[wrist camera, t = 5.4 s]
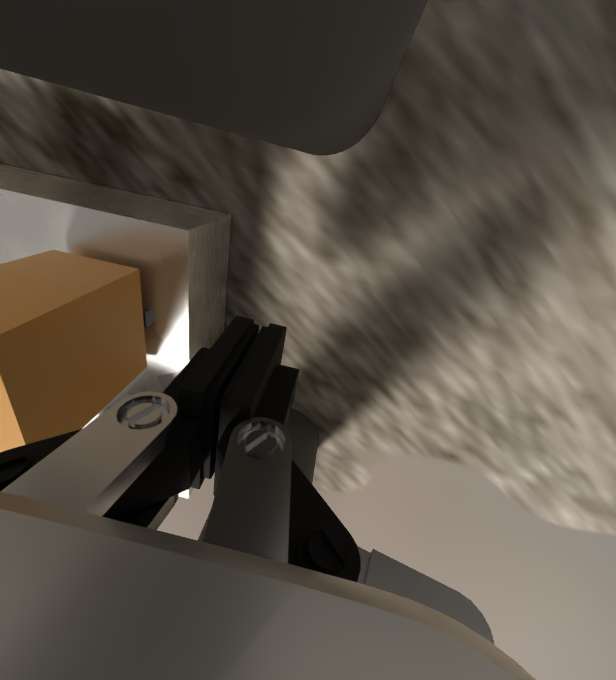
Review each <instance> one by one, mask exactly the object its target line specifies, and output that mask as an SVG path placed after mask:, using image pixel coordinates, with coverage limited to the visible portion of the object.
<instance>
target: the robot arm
mask: <svg viewBox="0 0 616 680" xmlns="http://www.w3.org/2000/svg"><path fill="white" fill-rule="evenodd" d="M286 329H287V328H286V327H284V326H280V325H276V324H271V323H270V324H269V326H268V327H265V326H263V327H262V328H261V330H260V332H259V325H257V324H254V320H253V319H250V318H245V317H241V316H236V317H235V318H234V319H233V321H232V322H231V323H230V324H229V326H228V327H227V328H226V329H225V331H224V332H223V333H222V334H221V336H220V337H219V338H218V339H217V341H216V342H215V343H214V344H213V346H212V347H211V348H205V347H202V348H201V349H199V351H198V352H197V353H196V354H195V355H194V356H193V358H192V359H191V360H190V361H189V362H188V363H187V365H186V366H185V367H184V368H183V369H182V370H181V372H180V373H179V374H178V375H177V376H176V377H175V379H174V380H173V381H172V382H171V383H170V384H169V386H168V387H167V388H166V389H165V390H164V391H163V393H159V392H140V393H135V394H132V395H130V396H127V397H125V398H123V399H122V400H120V401H118V402H117V403H116V404H114V405H113V406H112V407H110V408H109V409H108V410H107V411H105V412H104V413H103V414H101V415H100V416H99V417H97V418H96V419H95V420H93V421H92V422H91V423H90V424H88V425H87V426H86V427H84V428H83V429H79V430H76V431H72V432H69V433H65V434H62V435H58V436H55V437H51V438H48V439H44V440H41V441H37V442H34V443H30V444H26V445H23V446H19V447H16V448H12V449H9V450H6V451H3V452H0V680H536V679H534V677H532V676H531V675H530V674H529V673H528V672H527V671H526V670H525V669H523V668H522V667H521V666H520V665H519V664H518V663H517V662H516V661H515V660H513V659H512V658H511V657H509V656H508V655H507V654H505V653H504V652H503V651H502V650H500V649H499V648H497V647H496V646H495V645H494V641H493V637H492V633H491V630H490V627H489V625H488V624H487V622H486V620H485V618H484V616H483V615H482V613H481V612H480V611H479V610H478V608H477V607H476V606H475V605H474V604H473V602H472V601H471V600H469V599H468V598H466V597H465V596H464V595H462V594H461V593H459V592H458V591H456V590H454V589H452V588H449V587H447V586H446V585H444V584H442V583H440V582H438V581H436V580H434V579H432V578H430V577H428V576H426V575H424V574H422V573H420V572H418V571H416V570H414V569H412V568H410V567H408V566H406V565H404V564H402V563H400V562H398V561H396V560H394V559H392V558H390V557H388V556H386V555H384V554H382V553H380V552H378V551H376V550H374V549H373V550H372V552H371V553H370V552H368V551H366V550H364V549H362V548H360V547H358V546H357V545H356V543H355V541H354V539H353V538H352V536H351V534H350V533H349V532H348V531H347V529H346V528H345V527H344V525H343V524H342V523H341V521H340V520H339V519H338V518H337V516H336V515H335V514H334V512H333V511H332V510H331V509H330V507H329V506H328V505H327V503H326V502H325V501H324V499H323V498H322V497H321V496H320V494H319V493H318V492H317V490H316V489H315V488H314V487H313V485H312V484H311V483H310V481H309V480H308V479H307V478H306V476H305V475H304V474H303V472H302V471H301V470H300V468H299V467H298V466H297V465H296V463H295V462H294V461H293V459H292V439H291V435H290V433H289V431H288V430H287V428H286V425H287V421H288V418H289V414H290V410H291V406H292V402H293V398H294V393H295V389H296V384H297V379H298V375H299V369H296V368H291V367H287V366H283V365H281V359H282V353H283V347H284V342H285V336H286ZM258 332H259V334H258ZM214 472H215V479H214V496H215V497H214V502H213V505H212V509H211V513H210V517H209V521H208V524H207V528H206V532H205V536H204V540H203V542H201V541H197V540H193V539H189V538H185V537H181V536H177V535H173V534H169V533H165V532H161V531H157V529H158V527H159V526H160V524H161V523H162V522H163V520H164V519H165V518H166V516H167V515H168V513H169V512H170V511H171V509H172V508H173V507H174V505H175V503H176V501H177V499H178V496H179V493H181V492H183V491H185V490H188V489H190V487H192V488H196V489H200V487H201V485H202V483H203V481H204V479H205V478H209V479H211V478H212V476H213V474H214Z"/></svg>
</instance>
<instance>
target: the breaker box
mask: <svg viewBox="0 0 616 680" xmlns="http://www.w3.org/2000/svg"><path fill="white" fill-rule="evenodd" d="M230 230H231V214H228V213H223V212H219V211H214V210H210V209H205V208H200V207H196V206H191V205H187V204H182V203H178V202H173V201H169V200H164V199H160V198H155V197H150V196H146V195H141V194H137V193H132V192H128V191H123V190H119V189H114V188H110V187H105V186H100V185H96V184H91V183H87V182H82V181H78V180H73V179H69V178H64V177H59V176H55V175H50V174H46V173H41V172H37V171H32V170H28V169H23V168H19V167H14V166H9V165H5V164H0V264H2V263H6V262H10V261H13V260H17V259H21V258H24V257H28V256H32V255H35V254H39V253H43V252H46V251H50V250H57V251H62V252H66V253H71V254H75V255H79V256H84V257H88V258H93V259H97V260H102V261H106V262H110V263H115V264H119V265H124V266H128V267H132V268H137V269H139V271H140V283H141V296H142V309H143V321H144V334H145V346H146V359H147V368H145V369H144V370H143V371H142V372H141V373H140V374H139V375H138V376H137V377H136V378H135V379H134V380H133V381H132V382H131V383H130V384H129V385H128V386H127V387H125V388H124V389H123V390H122V391H121V392H120V393H119V394H118V395H117V396H116V397H115V398H114V399H113V400H112V401H111V402H110V403H109V404H108V405H107V406H106V407H104V408H103V409H102V410H101V411H100V412H99V413H98V414H97V415H96V416H95V417H94V418H93V419H92V420H91V421H90V422H89V423H91V422H92V421H93V420H95V419H96V418H97V417H99V416H100V415H101V414H103V413H104V412H105V411H107V410H108V409H109V408H110V407H112V406H113V405H114V404H116V403H117V402H118V401H120V400H122V399H123V398H125V397H127V396H130V395H132V394H135V393H140V392H159V393H163V391H164V390H165V389H166V388H167V387H168V386H169V384H170V383H171V382H172V381H173V380H174V379H175V377H176V376H177V375H178V374H179V373H180V372H181V370H182V369H183V368H184V367H185V366H186V365H187V363H188V362H189V361H190V360H191V359H192V358H193V356H194V355H195V354H196V353H197V352H198V351H199V349H201V348H202V347H205V348H211V347H212V346H213V344H214V343H215V342H216V341H217V339H218V338H219V337H220V336H221V334H222V333H223V332H224V327H225V311H226V295H227V278H228V262H229V246H230ZM89 423H88V424H89ZM88 424H87V425H88ZM87 425H86V426H87ZM86 426H84V427H86ZM84 427H83V428H84ZM83 428H82V429H83ZM193 489H194V488H192V487H190V489H188V490H185V491H183V492H181V493H179V496H180V497H184V498H188V499H189V497H190V495H191V493H192V491H193Z"/></svg>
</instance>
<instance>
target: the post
mask: <svg viewBox="0 0 616 680" xmlns="http://www.w3.org/2000/svg"><path fill="white" fill-rule="evenodd" d="M426 3H427V0H0V69H4V70H8V71H11V72H15V73H18V74H22V75H26V76H29V77H33V78H37V79H40V80H44V81H48V82H51V83H55V84H58V85H62V86H66V87H69V88H73V89H77V90H80V91H84V92H87V93H91V94H95V95H98V96H102V97H106V98H109V99H113V100H117V101H120V102H124V103H127V104H131V105H135V106H138V107H142V108H146V109H149V110H153V111H156V112H160V113H164V114H167V115H171V116H175V117H178V118H182V119H185V120H189V121H193V122H196V123H200V124H204V125H207V126H211V127H215V128H218V129H222V130H225V131H229V132H233V133H236V134H240V135H244V136H247V137H251V138H254V139H258V140H262V141H265V142H269V143H273V144H276V145H280V146H284V147H287V148H291V149H294V150H298V151H302V152H305V153H309V154H313V155H332V154H336V153H339V152H342V151H344V150H346V149H348V148H350V147H352V146H353V145H355V144H356V143H357V142H358V141H360V140H361V139H362V138H363V137H364V136H365V135H366V134H367V133H368V131H369V130H370V129H371V127H372V126H373V124H374V123H375V121H376V119H377V118H378V116H379V114H380V111H381V109H382V107H383V104H384V102H385V100H386V97H387V95H388V92H389V90H390V88H391V85H392V83H393V81H394V78H395V76H396V74H397V71H398V69H399V66H400V64H401V62H402V59H403V57H404V55H405V52H406V50H407V47H408V45H409V43H410V40H411V38H412V36H413V33H414V31H415V29H416V26H417V24H418V21H419V19H420V17H421V14H422V12H423V10H424V7H425V5H426Z"/></svg>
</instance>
